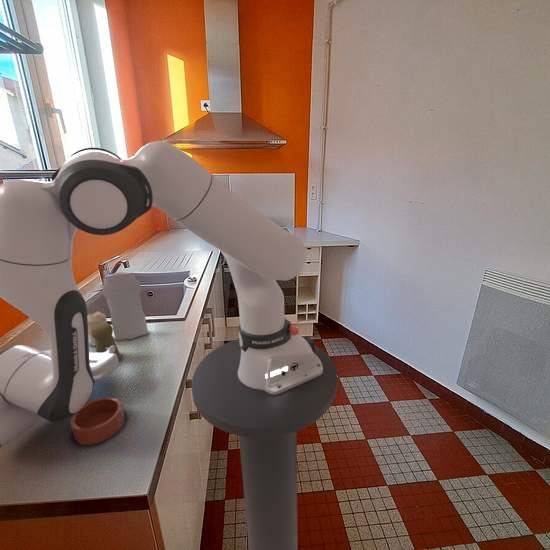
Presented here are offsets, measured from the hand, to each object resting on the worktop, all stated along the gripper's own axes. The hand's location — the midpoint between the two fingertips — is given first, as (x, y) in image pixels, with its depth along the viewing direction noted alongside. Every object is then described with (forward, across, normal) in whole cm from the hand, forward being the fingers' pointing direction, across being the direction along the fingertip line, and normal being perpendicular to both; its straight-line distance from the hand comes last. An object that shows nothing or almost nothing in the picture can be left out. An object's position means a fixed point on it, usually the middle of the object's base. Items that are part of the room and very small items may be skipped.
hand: (96, 346), depth 81 cm
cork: (+3, 0, +7) cm, 7 cm away
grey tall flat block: (+16, +1, +7) cm, 18 cm away
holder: (-19, -14, +6) cm, 24 cm away
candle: (+12, +9, +7) cm, 17 cm away
